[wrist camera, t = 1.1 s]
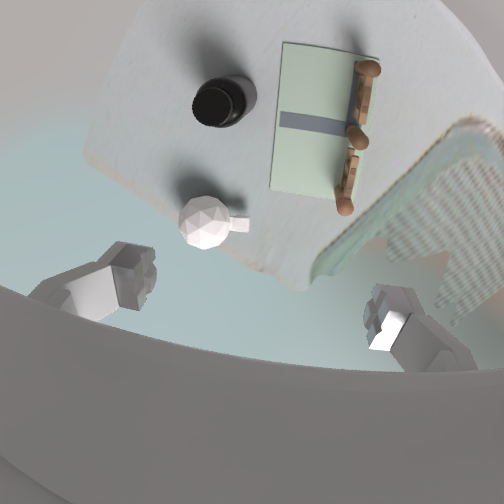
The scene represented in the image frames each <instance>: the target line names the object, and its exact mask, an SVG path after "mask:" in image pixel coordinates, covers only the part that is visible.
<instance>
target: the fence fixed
mask: <svg viewBox="0 0 504 504" xmlns="http://www.w3.org/2000/svg"><path fill="white" fill-rule="evenodd" d="M354 70H355V72H356V73H357V74H358V75H359V79H358V87H357V94H356V100H355V107H354V113H353V118H355V119H358V121H357V122H358V123H359V124H363V125H366V122H367V116H368V110H369V104H370V98H371V92H372V85H373V78H375V77H378V76H379V75H380V73H381V67H380V65H379V63H378V62H376V61H374V60H364V61H358V62H356V63H355V65H354ZM345 134H346V136H347V137H348V139H349V141H350V143H351V145H352V146H353V148H355V149H356V150H364V149H366V148H367V147H368V145H369V139H368V137H367V136H366V135H365V133H364V132H363V131H362V130H361V129H360V128H359V126H358V125H356V124H349V125H347V126H346V128H345Z"/></svg>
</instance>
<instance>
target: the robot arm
mask: <svg viewBox="0 0 504 504" xmlns="http://www.w3.org/2000/svg"><path fill="white" fill-rule="evenodd" d="M154 260H155V250H154V249H153V248H152V247H147V246H142V245H137V244H131V243H127V242H120V241H117V242H115V243H114V244H113V245H112V246H111V247H110V248H109V249H108V251H106V252H105V253H104V254H103V255H102V256H101V258H99V260H98V261H97V262H90V263H87V264H85V265H82V266H80V267H77V268H74V269H71V270H69V271H66V272H64V273H61V274H58V275H56V276H54V277H51V278H48V279H46V280H43V281H42V282H41V283H40V284H39V285H38V286H37V287H36V288H35V289H34V290H33V291H32V292H31V293H30V294H29V295H28V296H27V297H26V296H24V295H22V294H19V293H17V292H14V291H12V290H9V289H7V288H5V287H3V286H1V285H0V504H504V368H497V369H486V370H478V367H477V365H476V363H475V360H474V359H473V356H472V354H471V351H470V350H469V349H468V348H467V347H466V346H465V345H463V344H462V343H461V342H460V341H459V340H458V339H457V338H455V337H454V336H453V335H452V334H451V333H450V332H448V331H447V330H446V329H445V328H444V327H443V326H441V325H440V324H439V323H438V322H437V321H435V320H434V319H433V318H432V317H431V316H429V315H426V314H425V312H424V310H423V308H422V305H421V303H420V301H419V299H418V297H417V295H416V293H415V291H414V289H413V288H411V287H401V286H391V285H383V284H376V285H375V286H374V288H373V290H372V296H373V298H372V299H371V300H370V301H368V302H367V304H366V307H365V310H364V316H363V318H364V319H363V320H364V326H365V327H366V328H367V329H368V330H369V331H368V333H367V340H368V344H369V348H371V349H381V350H390V353H391V354H392V355H393V357H394V358H395V359H396V360H397V361H398V363H399V364H400V365H401V367H402V368H403V369H404V371H405V372H381V371H380V372H379V371H360V370H345V369H333V368H322V367H312V366H303V365H295V364H286V363H279V362H272V361H265V360H258V359H251V358H246V357H239V356H234V355H229V354H223V353H218V352H213V351H208V350H203V349H198V348H193V347H189V346H184V345H180V344H175V343H172V342H167V341H163V340H159V339H155V338H151V337H147V336H144V335H140V334H136V333H133V332H129V331H126V330H122V329H119V328H115V327H112V326H108V325H105V324H102V323H99V322H97V321H99V320H101V319H102V318H104V317H105V316H107V315H109V314H110V313H112V312H113V311H115V310H116V309H118V308H119V307H124V308H128V309H132V310H137V311H140V310H141V308H142V306H143V305H144V303H145V302H146V300H147V298H146V294H148V293H150V292H152V290H153V288H154V286H155V283H156V278H157V270H156V267H155V266H154V264H153V263H152V262H153V261H154Z"/></svg>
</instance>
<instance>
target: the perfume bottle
mask: <svg viewBox="0 0 504 504" xmlns="http://www.w3.org/2000/svg"><path fill="white" fill-rule="evenodd" d="M249 225H250V216H245V215H236V216H230V214H229V210H228V208H227V207H226V206H225V205H224V204H223V203H222V202H221V201H220V200H218V199H217V198H214V197H211V196H207V195H206V196H201V197H197V198H193V199H190V200H189V202H188V203H187V204H186V205H185V206H184V208H183V209H182V210H181V211H180V215H179V230H180V232H181V233H182V235H183V236H184V238H185V240H186V241H187V243H188V244H190V245H193V246H196V247H198V248H201V249H207V248H211V247H214V246H218V245H219V244H220V243H221V242H222V241H223V240H224V239H225V238H226V237H227V235H228V233H229V230H231V231H235V232H249Z"/></svg>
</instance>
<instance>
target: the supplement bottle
mask: <svg viewBox="0 0 504 504" xmlns="http://www.w3.org/2000/svg"><path fill="white" fill-rule="evenodd" d="M256 101H257V92H256V88H255V86H254V85H253V83H252V82H251V81H250V80H248V79H247V78H245V77H243V76H240V75H228V76H223V77H218V78H214V79H211V80H209V81H207V82H205V83H204V84H203V85H202V86H201V87H200V88H199V90H198V91H197V94H196V97H195V98H194V101H193V104H192V110H193V114H194V116H195V117H196V119H197V120H198V121H199V122H201V123H202V124H204V125H205V126H212V127H216V128H226V127H230V126H232V125H234V124H236V123H237V122H239V121H240V120H241V119H242V118H243V117H244V116H246V115H247V114H248V113H249V112H250V111H251V110H252V109H253V108H254V106H255V104H256Z"/></svg>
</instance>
